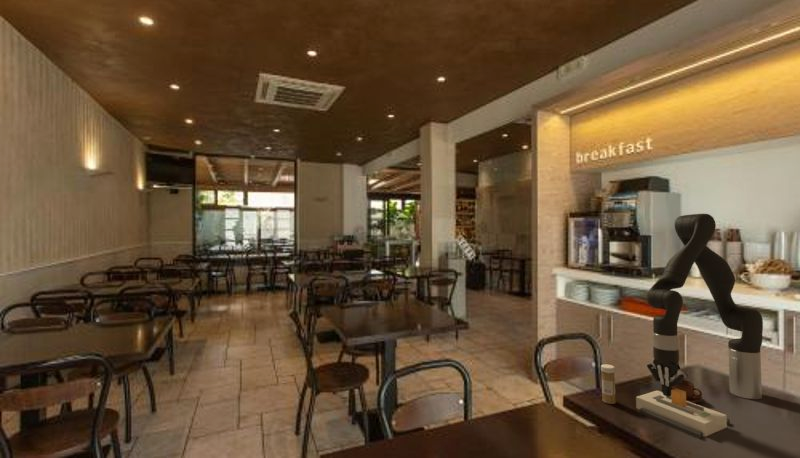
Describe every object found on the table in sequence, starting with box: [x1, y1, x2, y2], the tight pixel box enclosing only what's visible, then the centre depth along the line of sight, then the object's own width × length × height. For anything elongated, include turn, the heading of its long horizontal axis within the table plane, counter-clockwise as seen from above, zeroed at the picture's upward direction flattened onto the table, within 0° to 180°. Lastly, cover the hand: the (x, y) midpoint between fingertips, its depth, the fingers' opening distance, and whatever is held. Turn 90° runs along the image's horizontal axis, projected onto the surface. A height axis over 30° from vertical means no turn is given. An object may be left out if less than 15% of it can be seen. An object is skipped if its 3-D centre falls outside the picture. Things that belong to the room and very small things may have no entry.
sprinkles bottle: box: [600, 363, 616, 405], centre depth 146 cm, size 5×5×13 cm
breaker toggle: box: [671, 389, 686, 407], centre depth 133 cm, size 3×3×5 cm
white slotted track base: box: [638, 408, 731, 440], centre depth 132 cm, size 19×20×1 cm
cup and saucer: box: [672, 378, 703, 404], centre depth 147 cm, size 12×12×6 cm
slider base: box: [635, 390, 728, 437], centre depth 133 cm, size 12×22×5 cm, turn 25°
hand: (667, 395), depth 137 cm, fingers closed
